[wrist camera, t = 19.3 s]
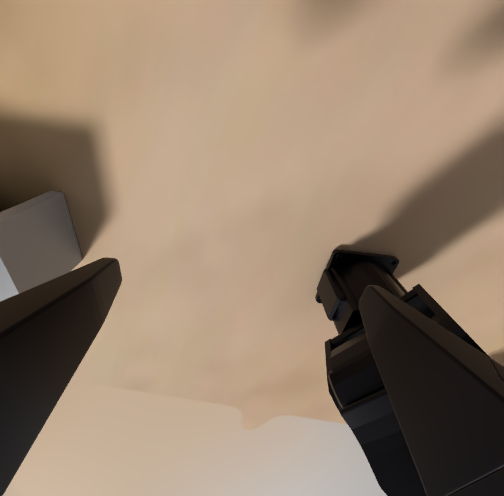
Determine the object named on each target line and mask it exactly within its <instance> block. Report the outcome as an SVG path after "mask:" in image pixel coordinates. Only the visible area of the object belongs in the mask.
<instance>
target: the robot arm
mask: <svg viewBox="0 0 504 496" xmlns="http://www.w3.org/2000/svg"><path fill="white" fill-rule="evenodd" d="M338 254H340V255H339V256H336V255H338ZM392 261H393V262H392ZM391 262H392V263H391ZM398 263H399V260H398V259H397V258H396V257H395V256H388V255H379V254H371V253H362V252H354V251H345V250H335V251H334V252H333V253H332V255H331V257H330V260H329V263H328V265H327V268H326V269H325V270H324V271H323V274H322V277H321V279H320V282H319V284H318V287H317V294H316V297H315V298H316V301H317V302H318V303H322V304H323V307H324V309H325V312H326V315H327V317H328V319H329V320H331V321H334V324H335V326H336V329H337V331H338V334H339V335H338V336H336V337H335V338H333V339H329V340H327V341H326V342H325V353H326V367H327V381H328V387H329V393H330V395H331V397H332V398H333V401H334V403H335V405H336V407H337V408H338V410H339V412H340V414H341V416H342V417H343V418H344V420H345V421H346V423H347V424H348V425H349V427H350V428H351V430H352V431H353V433H354V435H355V436H356V438H357V440H358V442H359V443H360V445H361V447H362V449H363V451H364V453H365V455H366V457H367V459H368V462H369V464H370V466H371V468H372V470H373V472H374V474H375V477H376V479H377V481H378V483H379V485H380V487H381V489H382V490H383V491H384V492H385V493H386V494H387V496H504V367H503V366H502V365H500V364H499V363H497V362H496V361H494V360H493V359H491V358H490V357H489V356H488V355H487V354H486V353H485V352H484V351H483V350H482V349H481V348H480V347H479V346H478V345H477V344H476V343H475V342H474V340H473V339H472V338H471V337H470V336H469V335H468V334H467V333H466V332H465V331H464V330H463V329H462V328H461V327H460V326H459V325H458V324H457V323H456V322H455V321H454V320H453V319H452V318H451V317H450V316H449V315H448V313H447V312H446V311H445V310H444V309H443V308H442V307H441V306H440V305H439V304H438V303H437V302H436V301H435V300H434V299H433V298H432V297H431V296H430V295H429V294H428V293H427V292H426V291H425V290H424V289H423V288H422V287H421V285H420V284H418V285H416V286H415V287H413V289H412V290H411V291H409V292H407V291H406V289H405V288H404V287H403V286H402V285H401V284H400V282H399V281H398V280H397V279H396V278H395V277H394V275H393V272H394V270H395V269H396V267H397V265H398ZM121 282H122V276H121V271H120V265H119V261H118V260H117V259H115V258H102V259H99V260H97V261H94V262H92V263H90V264H87V265H85V266H83V267H80V268H78V269H76V270H73V271H71V272H69V273H66V274H64V275H61V276H59V277H57V278H54V279H52V280H50V281H47V282H45V283H43V284H40V285H38V286H36V287H33V288H31V289H29V290H26V291H24V292H21V293H19V294H17V295H14V296H12V297H10V298H7V299H5V300H3V301H0V496H2V495H3V494H4V492H5V491H6V489H7V487H8V485H9V484H10V482H11V480H12V479H13V477H14V475H15V474H16V472H17V470H18V469H19V467H20V465H21V463H22V462H23V460H24V458H25V457H26V455H27V453H28V451H29V450H30V448H31V446H32V444H33V443H34V441H35V440H36V438H37V436H38V434H39V433H40V431H41V429H42V428H43V426H44V424H45V422H46V420H47V419H48V417H49V416H50V414H51V412H52V410H53V409H54V407H55V405H56V404H57V402H58V400H59V399H60V397H61V395H62V393H63V392H64V390H65V388H66V387H67V385H68V383H69V381H70V380H71V378H72V376H73V375H74V373H75V371H76V370H77V368H78V366H79V364H80V363H81V361H82V359H83V358H84V356H85V354H86V352H87V351H88V349H89V347H90V346H91V344H92V342H93V340H94V339H95V337H96V335H97V334H98V332H99V330H100V328H101V327H102V325H103V323H104V321H105V319H106V317H107V314H108V312H109V310H110V308H111V305H112V303H113V301H114V299H115V296H116V294H117V292H118V290H119V287H120V285H121ZM319 298H320V299H319Z"/></svg>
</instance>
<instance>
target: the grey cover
mask: <svg viewBox="0 0 504 496" xmlns="http://www.w3.org/2000/svg"><path fill="white" fill-rule="evenodd" d="M82 260H83V258H82V255H81V251H80V248H79V244H78V241H77V238H76V234H75V231H74V227H73V224H72V220H71V217H70V213H69V210H68V206H67V203H66V200H65V196H64V193H63V192H56V191H49V192H46V193H44V194H42V195H39V196H37V197H35V198H32V199H30V200H28V201H25V202H23V203H21V204H18V205H16V206H14V207H11V208H9V209H7V210H4V211H2V212H1V211H0V301H3V300H5V299H7V298H10V297H12V296H14V295H17V294H19V293H21V292H24V291H26V290H29V289H31V288H33V287H36V286H38V285H40V284H43V283H45V282H47V281H50V280H52V279H54V278H57V277H59V276H61V275H64V274H66V273H69V272H70V271H71V270H72V269H73V268H74V267H75V266H76V265H78V264H79V263H80V262H81V261H82Z"/></svg>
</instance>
